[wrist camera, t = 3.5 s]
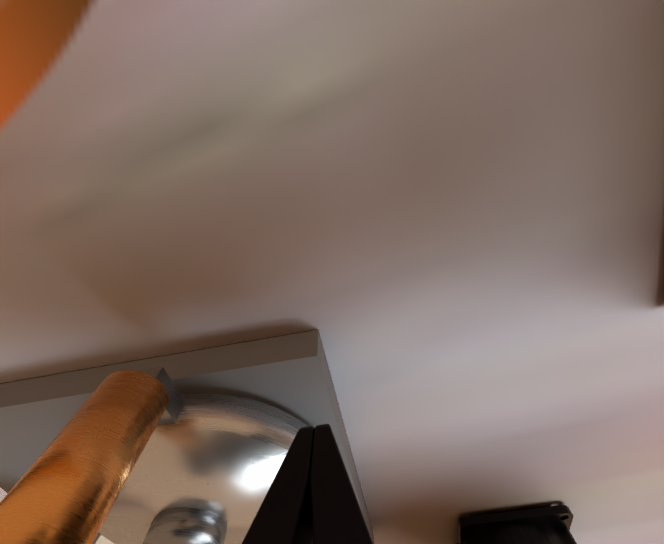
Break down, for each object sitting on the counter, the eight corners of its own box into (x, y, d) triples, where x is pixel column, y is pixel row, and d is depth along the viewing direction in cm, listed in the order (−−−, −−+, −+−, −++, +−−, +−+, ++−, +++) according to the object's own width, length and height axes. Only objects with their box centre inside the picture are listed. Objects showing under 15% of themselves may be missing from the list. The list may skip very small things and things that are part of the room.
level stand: (318, 329, 12) (316, 363, 11) (372, 530, 19) (376, 570, 18) (-39, 390, 14) (-91, 429, 12) (135, 558, 21) (118, 598, 19)
